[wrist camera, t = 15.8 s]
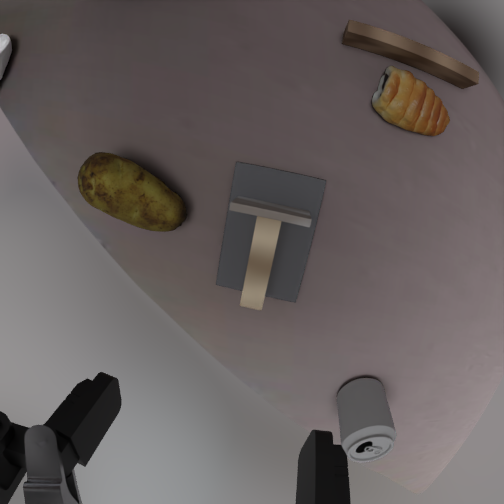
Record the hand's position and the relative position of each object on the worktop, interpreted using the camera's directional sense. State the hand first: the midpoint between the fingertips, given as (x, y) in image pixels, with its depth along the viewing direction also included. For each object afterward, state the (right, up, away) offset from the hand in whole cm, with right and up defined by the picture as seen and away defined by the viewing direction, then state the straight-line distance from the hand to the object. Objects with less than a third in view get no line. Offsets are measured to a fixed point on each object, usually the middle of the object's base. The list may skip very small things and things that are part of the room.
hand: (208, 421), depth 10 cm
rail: (+20, +29, +15) cm, 38 cm away
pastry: (+19, +24, +18) cm, 35 cm away
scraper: (+3, +7, +25) cm, 26 cm away
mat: (+4, +9, +24) cm, 26 cm away
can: (+18, -15, +30) cm, 38 cm away
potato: (-12, +14, +25) cm, 31 cm away
